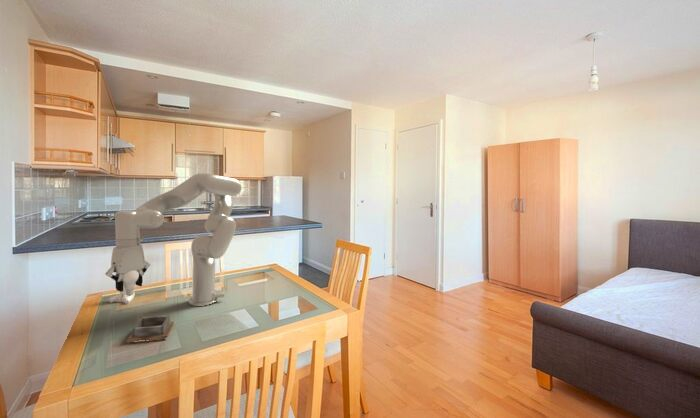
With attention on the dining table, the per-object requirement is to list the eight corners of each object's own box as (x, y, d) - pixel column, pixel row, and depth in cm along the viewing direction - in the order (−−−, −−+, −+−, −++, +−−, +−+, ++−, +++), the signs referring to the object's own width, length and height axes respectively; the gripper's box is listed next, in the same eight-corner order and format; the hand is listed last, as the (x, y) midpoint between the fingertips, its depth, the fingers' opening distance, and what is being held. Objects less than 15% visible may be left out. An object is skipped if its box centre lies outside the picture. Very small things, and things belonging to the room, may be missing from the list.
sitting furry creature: (107, 302, 140) (107, 276, 139) (122, 296, 149) (122, 271, 148) (127, 304, 140) (127, 278, 139) (141, 297, 148) (141, 272, 147)
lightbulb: (129, 299, 118) (128, 271, 117) (115, 297, 119) (114, 269, 118) (143, 293, 124) (142, 266, 123) (130, 291, 125) (129, 265, 124)
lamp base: (173, 325, 122) (173, 314, 122) (166, 339, 111) (166, 327, 111) (138, 327, 118) (138, 316, 118) (126, 343, 107) (126, 330, 107)
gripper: (145, 238, 129) (146, 280, 131) (96, 245, 113) (98, 293, 115) (156, 240, 126) (157, 283, 127) (108, 248, 110) (109, 297, 112)
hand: (129, 287), depth 121 cm, fingers closed on lightbulb, 6 cm apart
